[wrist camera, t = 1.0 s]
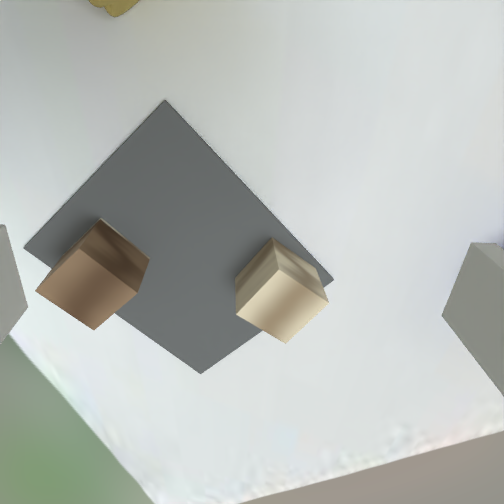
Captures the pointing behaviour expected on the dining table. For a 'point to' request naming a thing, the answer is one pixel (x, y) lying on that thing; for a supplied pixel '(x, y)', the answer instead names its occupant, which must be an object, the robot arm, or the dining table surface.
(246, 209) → the rubber mat
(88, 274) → the walnut block
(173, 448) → the dining table surface
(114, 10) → the cheese
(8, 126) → the dining table surface
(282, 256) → the maple block
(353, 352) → the dining table surface
